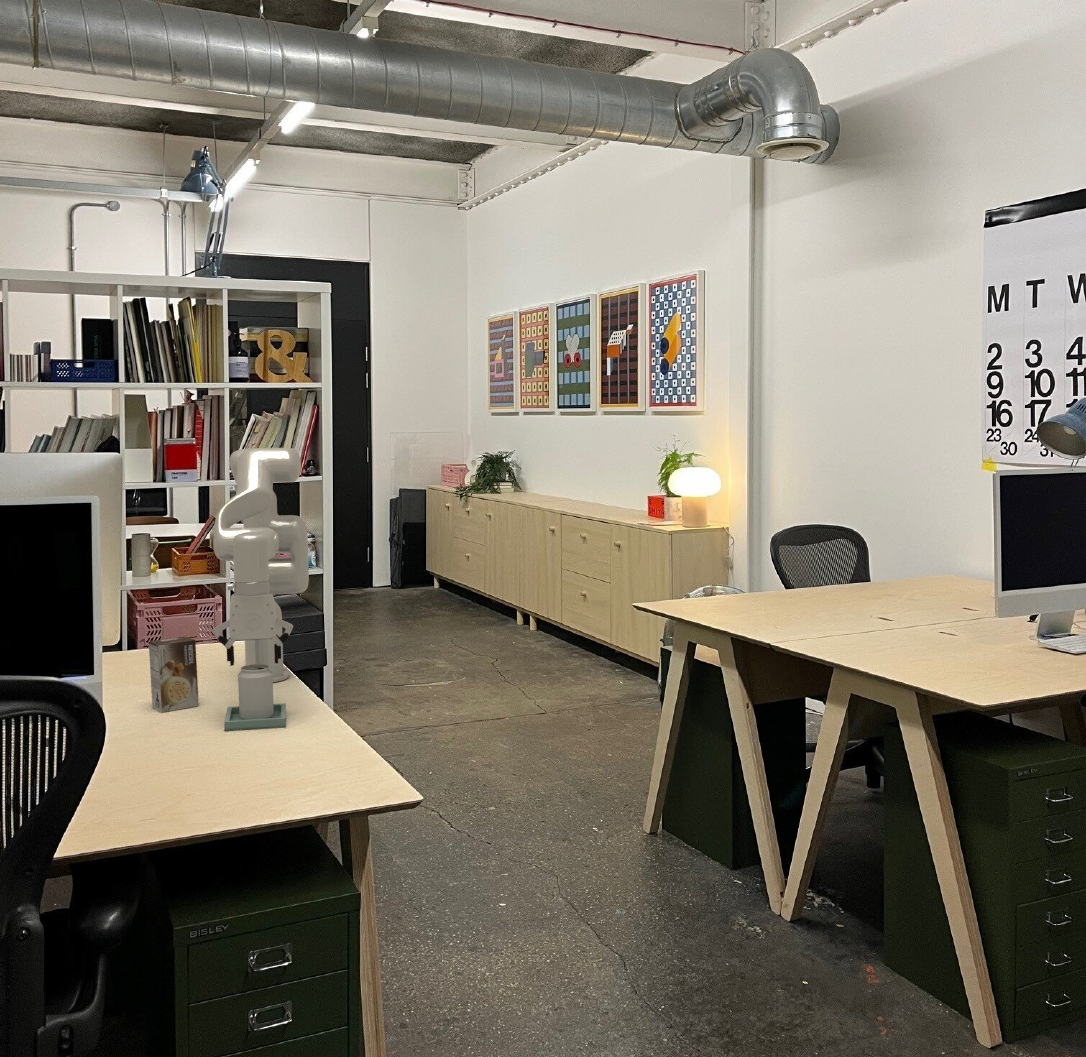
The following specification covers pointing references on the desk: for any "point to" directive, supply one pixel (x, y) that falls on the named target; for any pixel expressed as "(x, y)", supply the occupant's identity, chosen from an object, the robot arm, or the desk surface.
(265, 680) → the can
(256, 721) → the tray
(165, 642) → the coffee box
